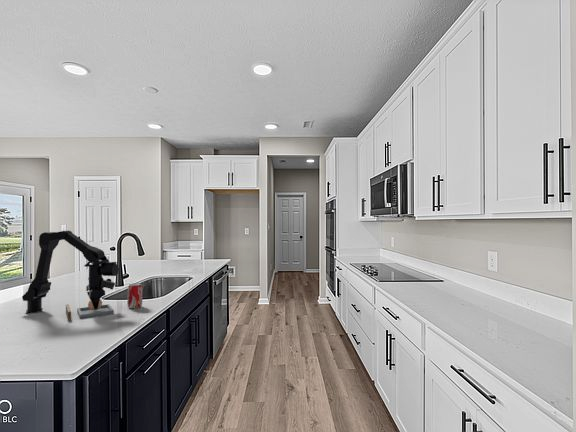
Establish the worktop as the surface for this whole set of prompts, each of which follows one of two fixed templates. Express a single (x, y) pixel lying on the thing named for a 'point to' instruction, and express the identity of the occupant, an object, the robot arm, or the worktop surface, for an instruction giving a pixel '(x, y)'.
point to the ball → (93, 306)
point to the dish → (94, 311)
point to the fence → (68, 312)
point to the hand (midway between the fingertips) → (95, 307)
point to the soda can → (134, 295)
